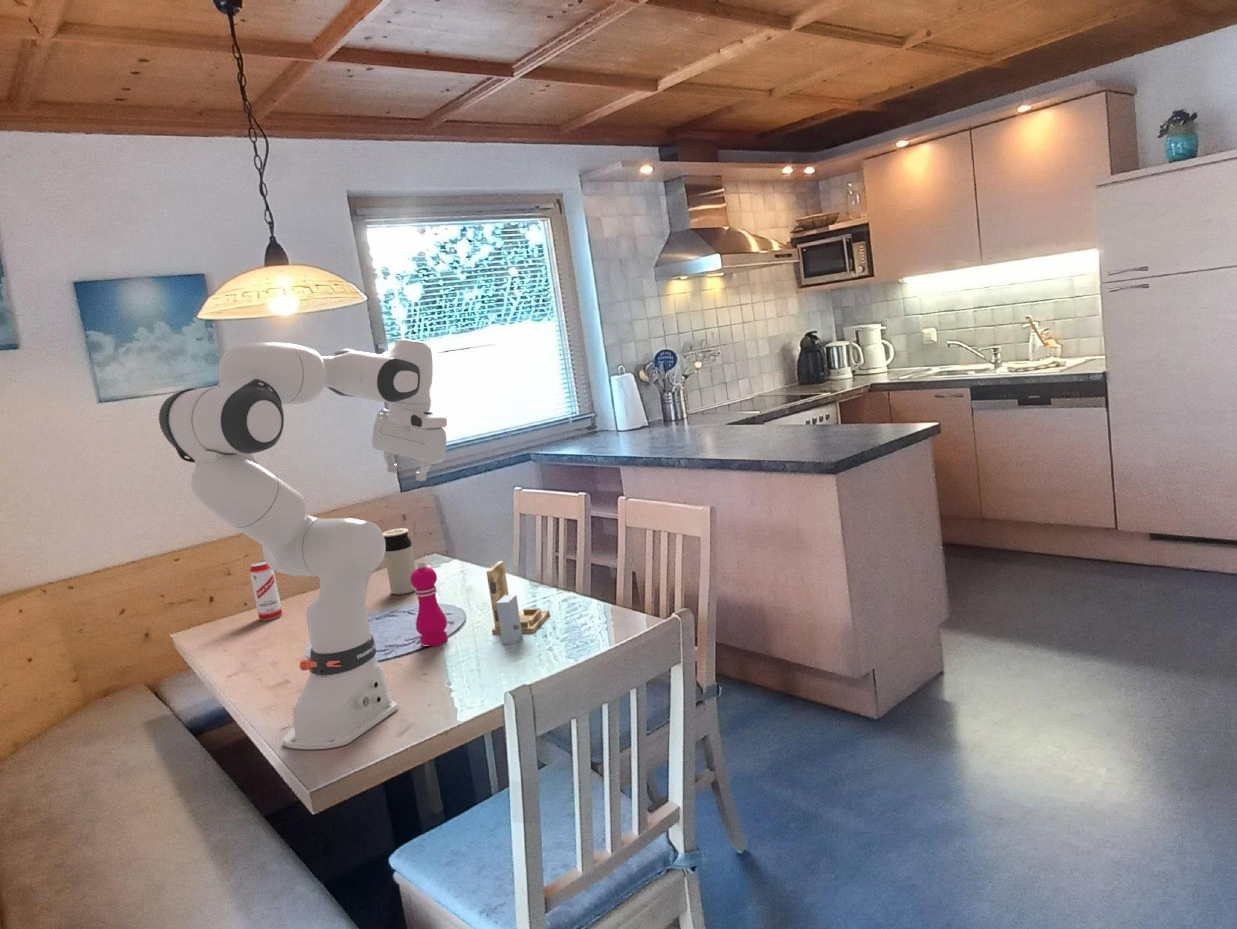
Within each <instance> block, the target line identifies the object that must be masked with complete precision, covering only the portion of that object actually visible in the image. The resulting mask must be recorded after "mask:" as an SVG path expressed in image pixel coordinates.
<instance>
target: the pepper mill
mask: <svg viewBox="0 0 1237 929" xmlns="http://www.w3.org/2000/svg"><path fill="white" fill-rule="evenodd" d="M437 579H438V577H437V572H436V571H435V569H433V568H432V567H429V566H426V562H425V561H422V560H421V561H418V562H417V568H416V570H415V571H414V572H413V573H412V575H411V584H412V585H413V586H414V587H415V588H416V589H415V591H414V592H415V597H417V601H418V611H417V616H416V619H415V620H416V621H415V627H416V628H415V629H416V631H417V633H418V634H419V635H421V636H420V637H419V641H420V645H421V644H424V645H429V646H433V647H438V646H440V644H441V645H443V644H444V643H446V642H447V641H448V633H447V631H445V630H446V628H447V627H448V621H447V617H446V615H445V613H444V611H443V610H442V608H441V607H440V605H439V602H438V601H437V598H436V597H437V595H436V593H437V592H438V590H437V585H435V584H436V582H437Z"/></svg>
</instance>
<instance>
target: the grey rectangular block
mask: <svg viewBox="0 0 1237 929" xmlns="http://www.w3.org/2000/svg"><path fill="white" fill-rule="evenodd" d="M496 605H497V611H498V618H499V624H500V631H501V634H500V637H501V643H502V645H515V644H517V642H518V641H519V640H520V639H521V637H523V633H522V630H521V623H520V616H519V612H520V611H519V610H520V609H519V604H518V597H517V594H509V595H504V596H503V597H502V598H501V599H500V600H499V601H498V602H496Z"/></svg>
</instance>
